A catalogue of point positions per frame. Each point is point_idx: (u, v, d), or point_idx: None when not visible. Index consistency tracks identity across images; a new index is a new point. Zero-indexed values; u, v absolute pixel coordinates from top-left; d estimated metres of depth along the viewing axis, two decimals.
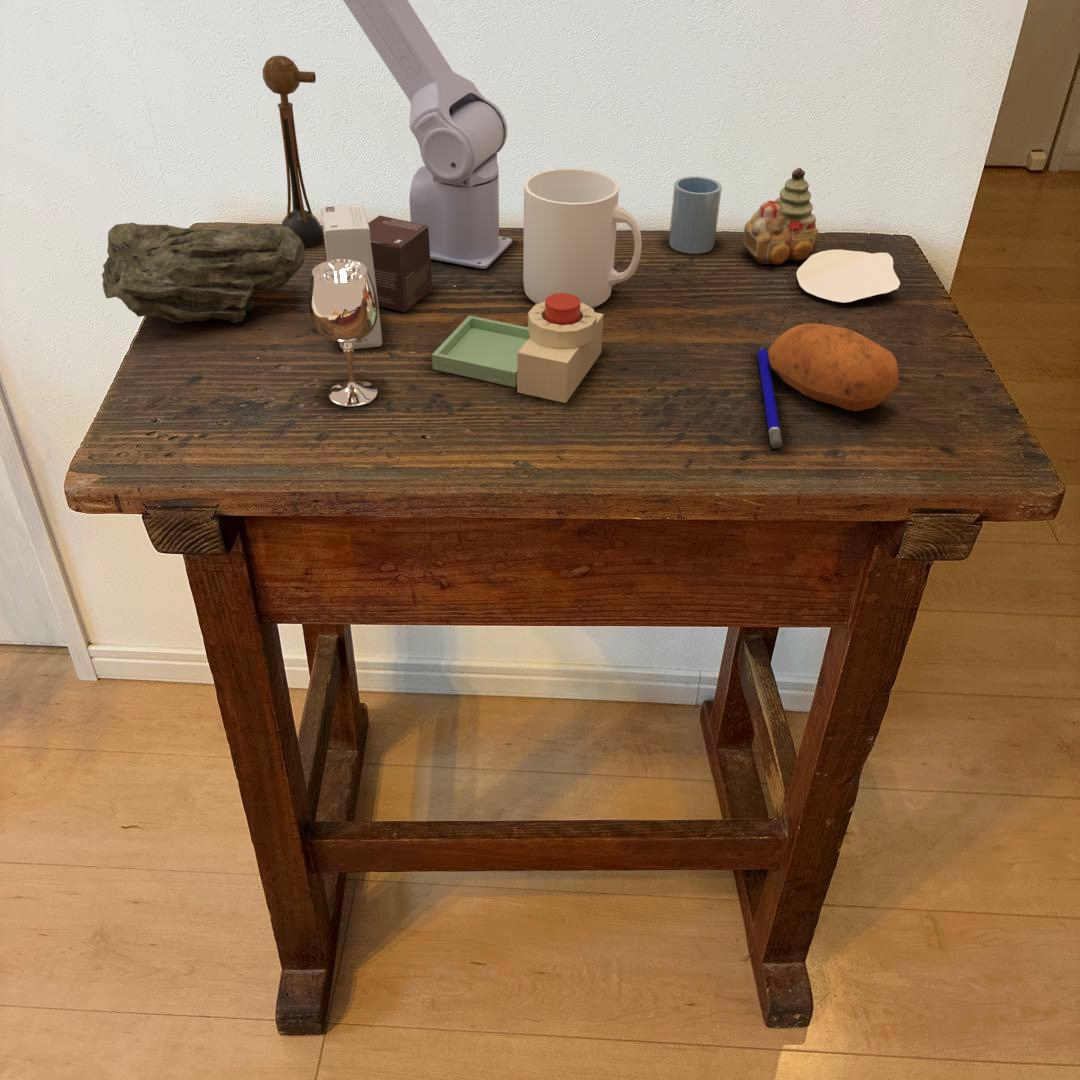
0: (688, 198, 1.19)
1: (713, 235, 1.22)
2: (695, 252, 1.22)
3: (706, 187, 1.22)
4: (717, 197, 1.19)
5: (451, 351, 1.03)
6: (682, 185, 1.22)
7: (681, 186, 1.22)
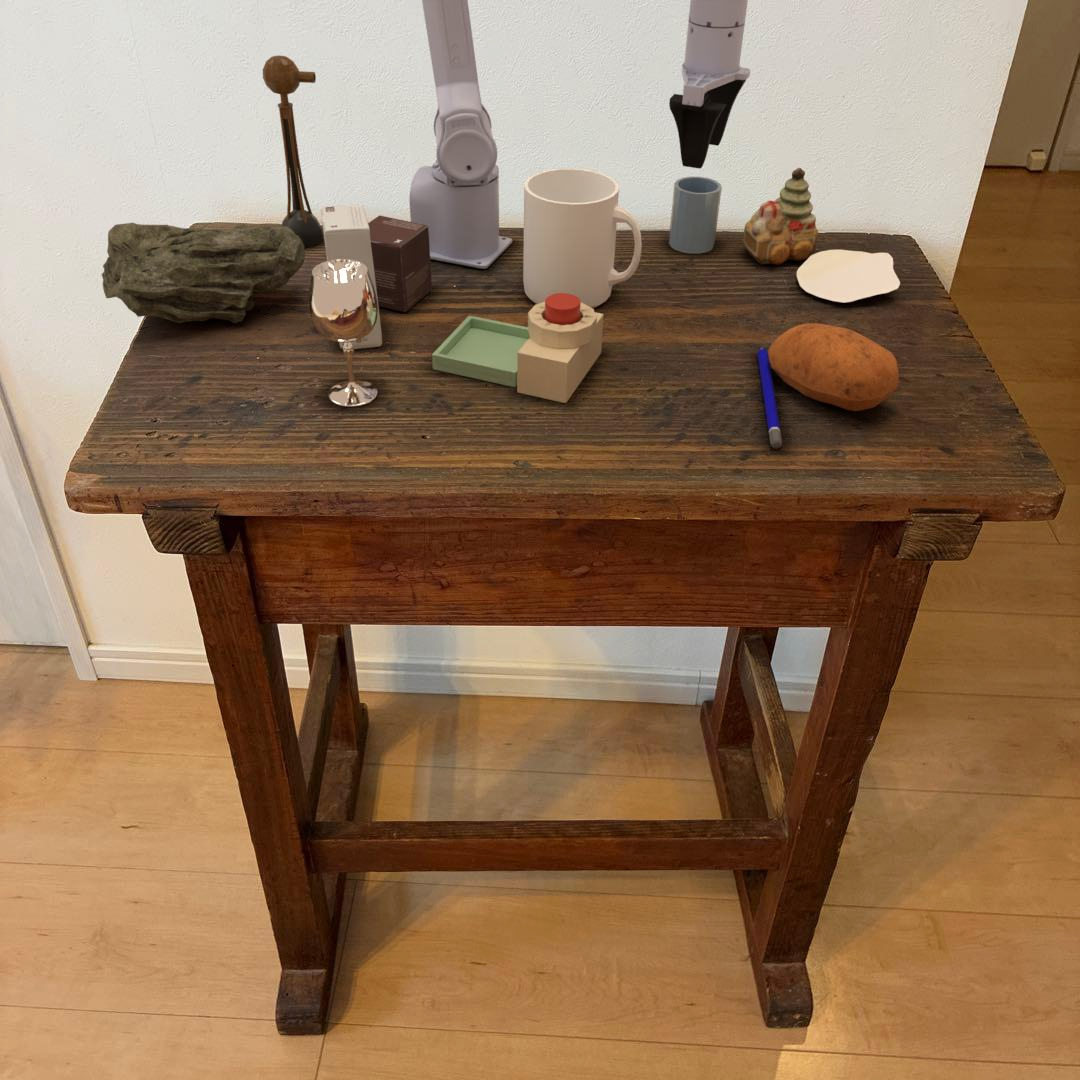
0: (688, 198, 1.19)
1: (713, 235, 1.22)
2: (695, 252, 1.22)
3: (706, 187, 1.22)
4: (717, 197, 1.19)
5: (451, 351, 1.03)
6: (682, 185, 1.22)
7: (681, 186, 1.22)
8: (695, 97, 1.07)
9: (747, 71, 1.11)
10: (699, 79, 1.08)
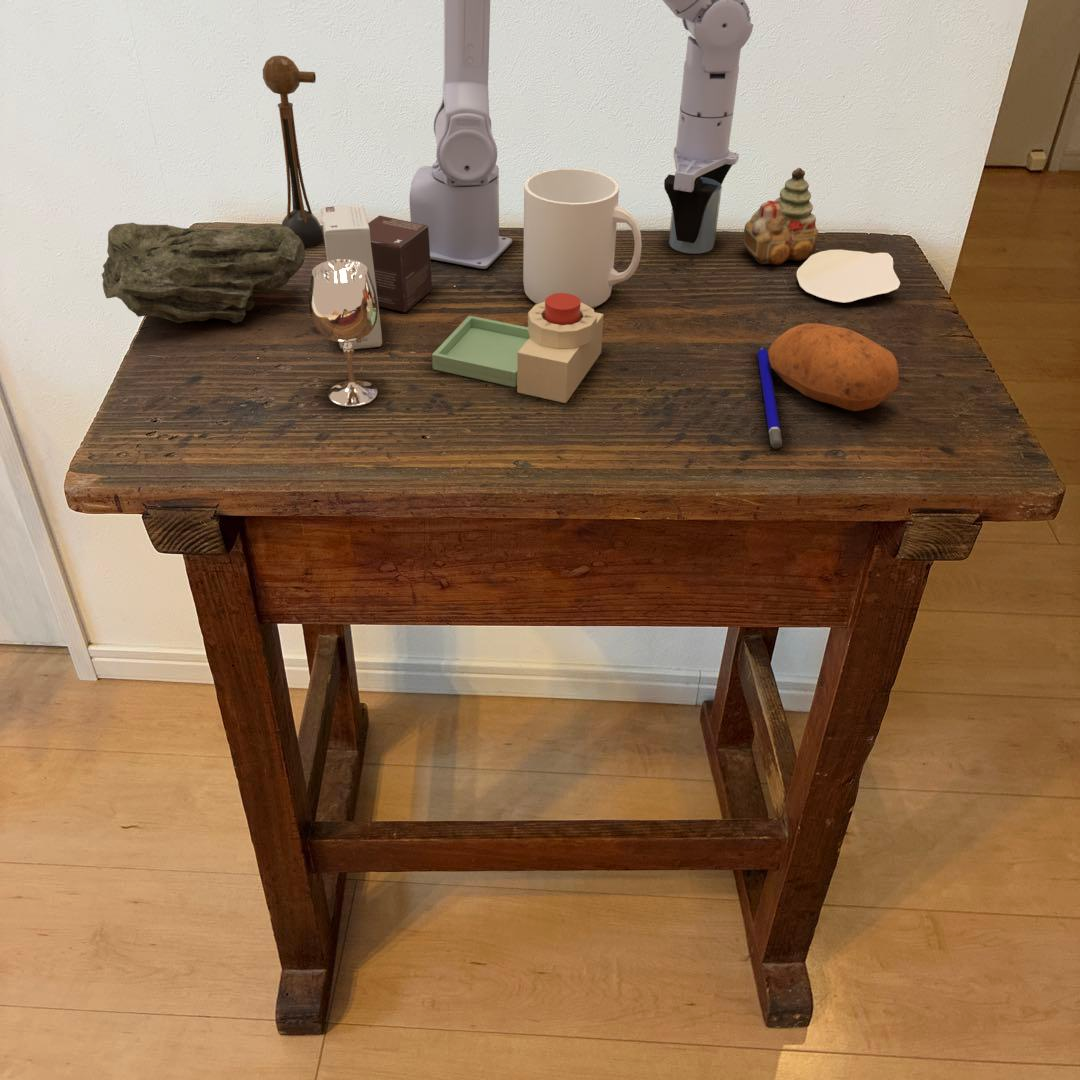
0: None
1: (713, 235, 1.22)
2: (695, 252, 1.22)
3: None
4: (717, 197, 1.19)
5: (451, 351, 1.03)
6: None
7: None
8: (686, 183, 1.13)
9: (736, 156, 1.16)
10: (690, 165, 1.14)
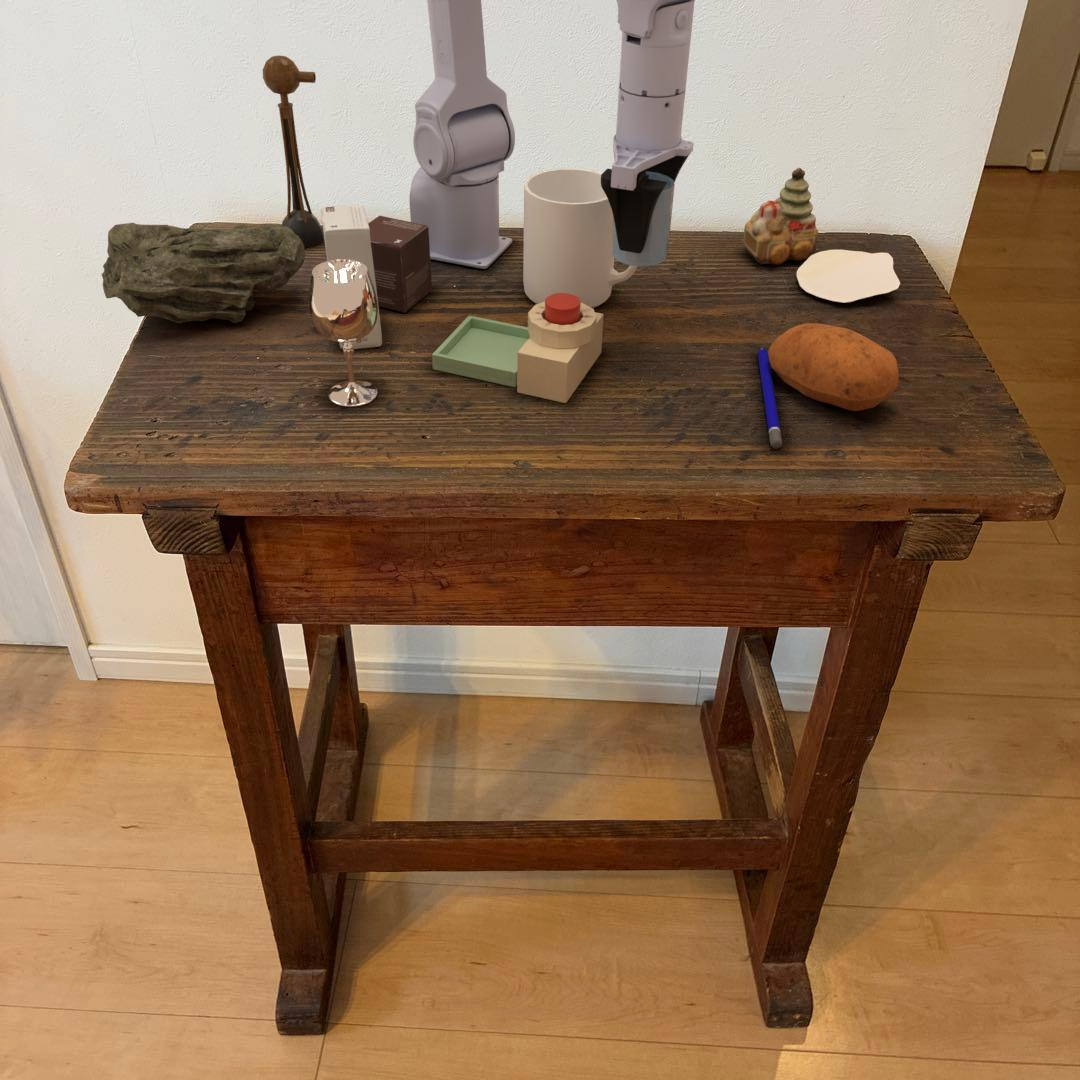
0: None
1: (665, 243, 0.99)
2: (643, 264, 0.99)
3: None
4: (669, 197, 0.96)
5: (451, 351, 1.03)
6: None
7: None
8: (626, 180, 0.90)
9: (690, 145, 0.93)
10: (631, 157, 0.91)
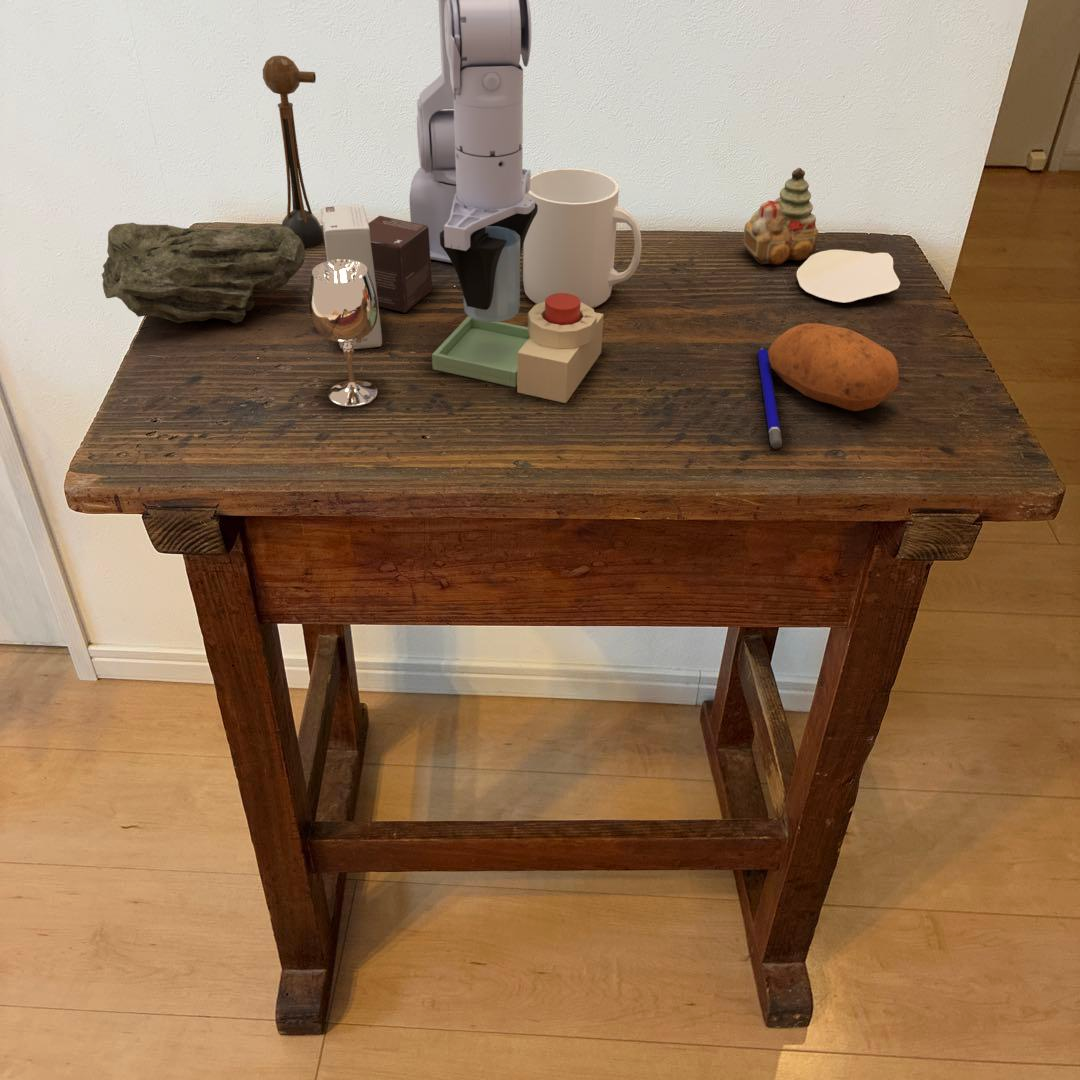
0: None
1: (515, 299, 0.98)
2: (492, 320, 0.98)
3: (505, 239, 0.98)
4: (513, 254, 0.95)
5: (451, 351, 1.03)
6: None
7: None
8: (458, 240, 0.89)
9: (530, 203, 0.92)
10: (466, 216, 0.90)
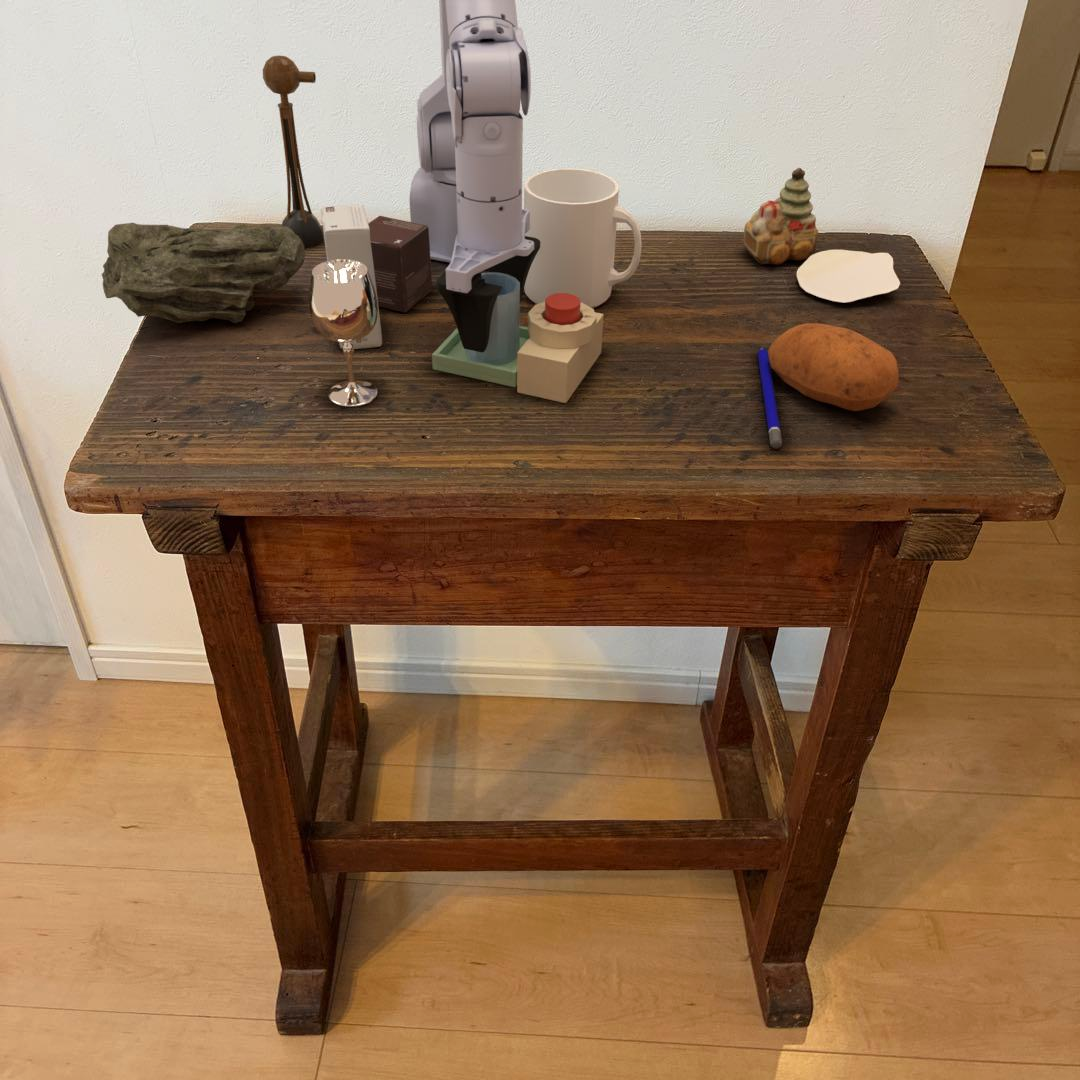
0: None
1: (514, 343, 1.01)
2: (493, 363, 1.01)
3: (505, 285, 1.01)
4: (513, 300, 0.98)
5: (451, 351, 1.03)
6: None
7: None
8: (459, 283, 0.91)
9: (529, 245, 0.95)
10: (467, 259, 0.92)
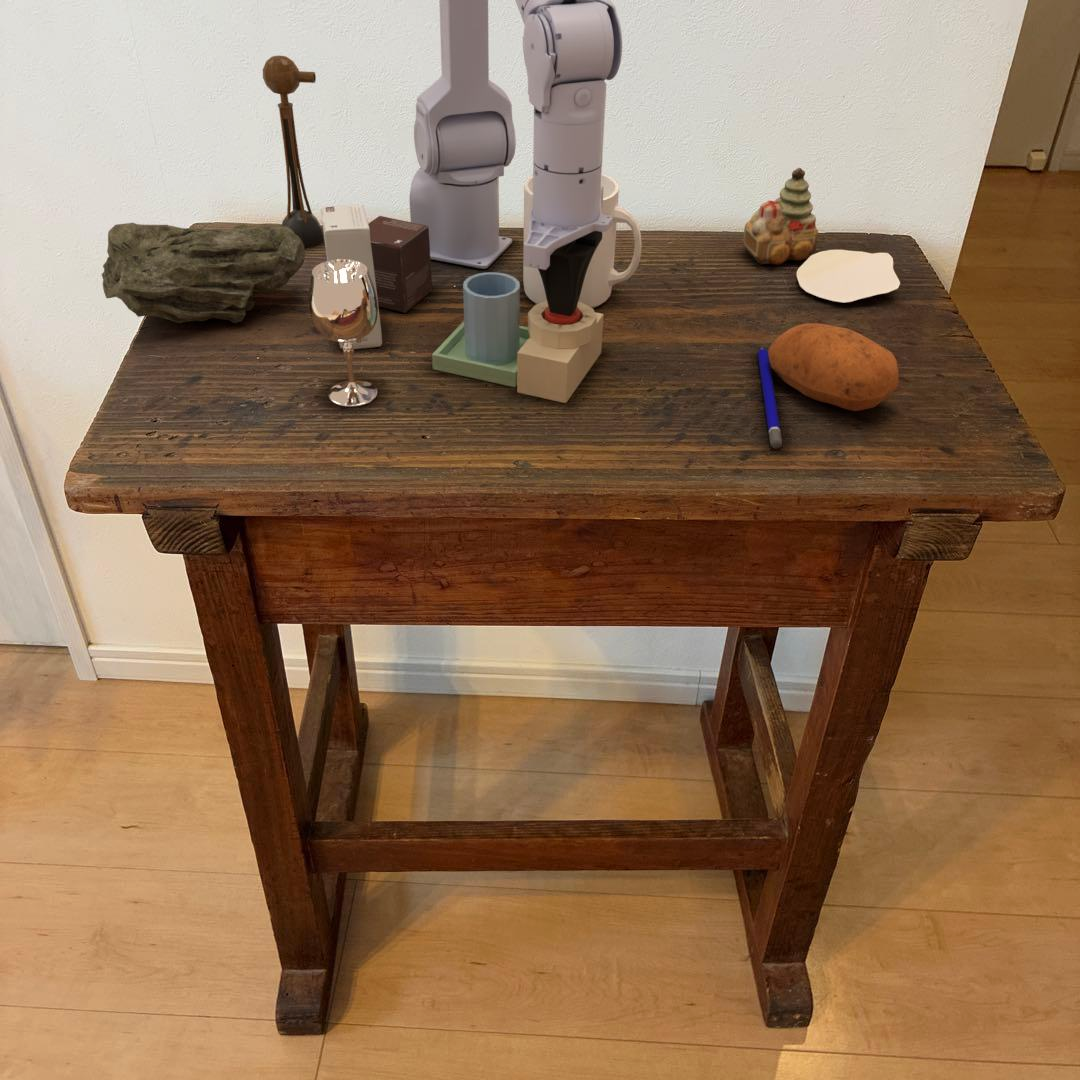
0: (477, 302, 0.97)
1: (514, 343, 1.01)
2: (493, 363, 1.01)
3: (505, 285, 1.01)
4: (513, 300, 0.98)
5: (451, 351, 1.03)
6: (476, 283, 1.00)
7: (474, 284, 1.00)
8: (538, 259, 0.87)
9: (608, 221, 0.91)
10: (545, 235, 0.88)
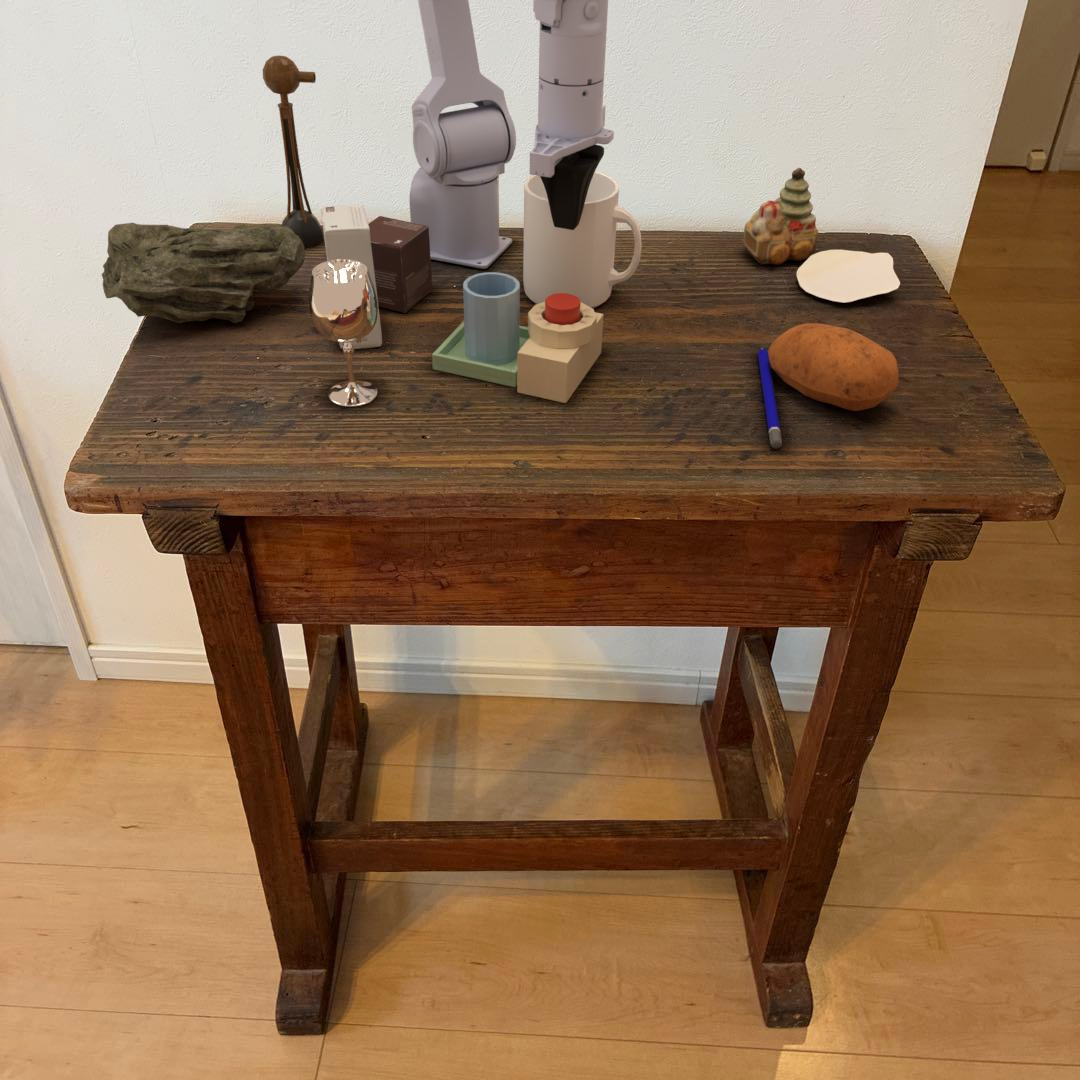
0: (477, 302, 0.97)
1: (514, 343, 1.01)
2: (493, 363, 1.01)
3: (505, 285, 1.01)
4: (513, 300, 0.98)
5: (451, 351, 1.03)
6: (476, 283, 1.00)
7: (474, 284, 1.00)
8: (543, 167, 0.92)
9: (609, 134, 0.95)
10: (550, 145, 0.93)
